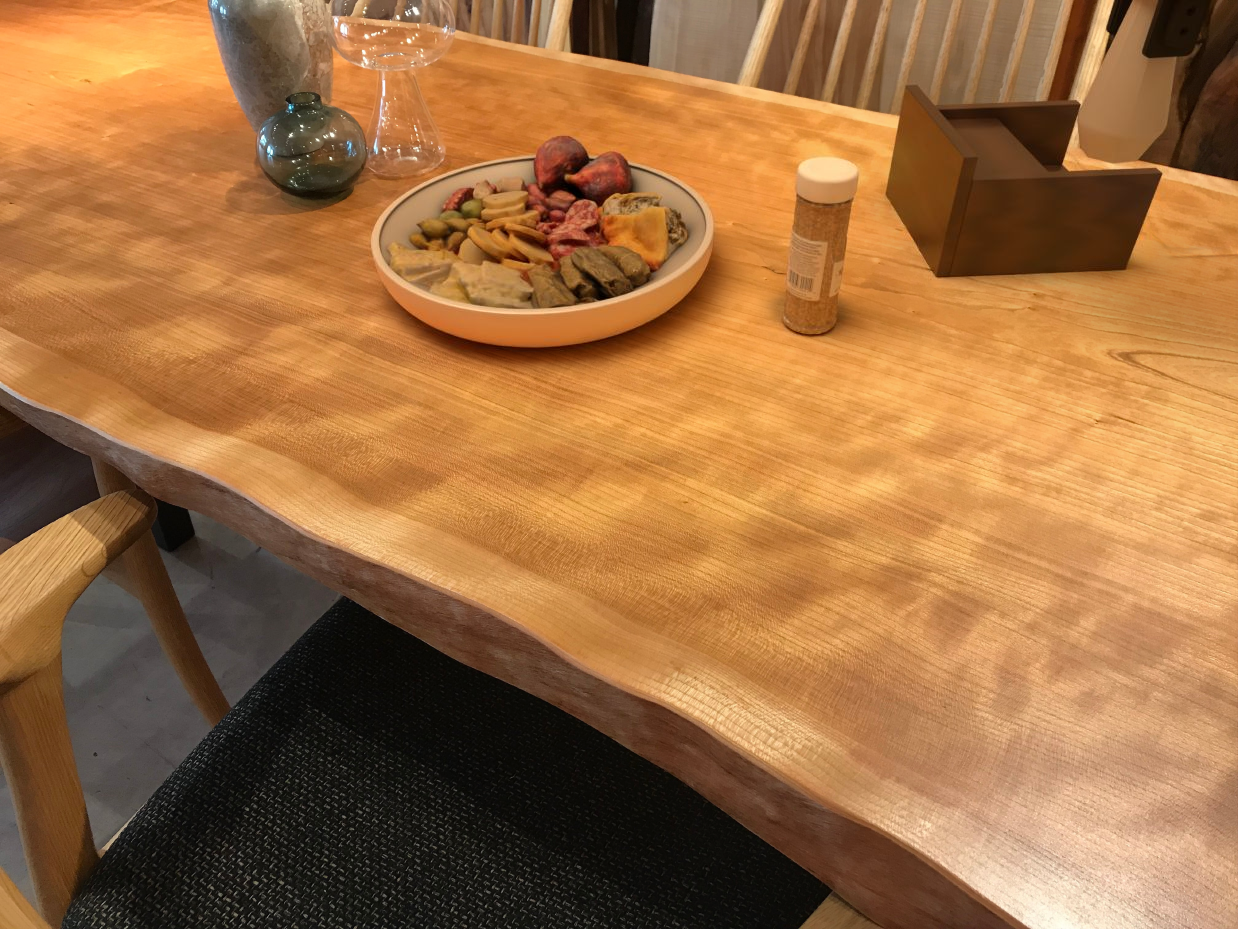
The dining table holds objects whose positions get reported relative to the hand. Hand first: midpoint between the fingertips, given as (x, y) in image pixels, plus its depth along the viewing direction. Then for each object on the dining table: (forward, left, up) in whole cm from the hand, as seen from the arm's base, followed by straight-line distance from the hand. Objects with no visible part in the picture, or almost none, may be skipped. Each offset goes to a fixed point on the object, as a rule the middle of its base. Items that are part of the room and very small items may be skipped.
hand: (1147, 40), depth 62 cm
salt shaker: (0, 0, -8) cm, 8 cm away
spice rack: (-1, -16, -22) cm, 27 cm away
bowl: (+43, -11, -22) cm, 49 cm away
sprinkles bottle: (+21, -1, -22) cm, 30 cm away
